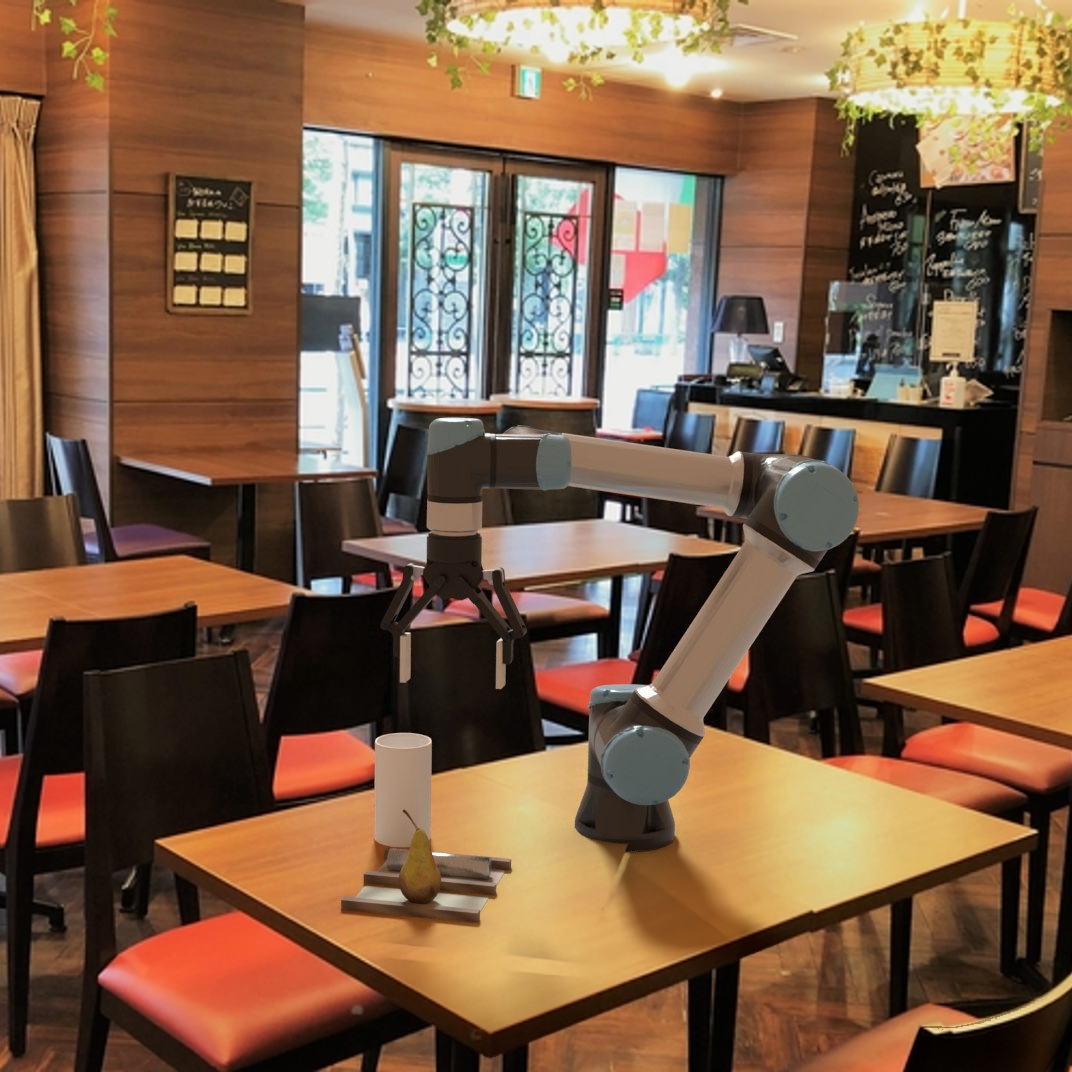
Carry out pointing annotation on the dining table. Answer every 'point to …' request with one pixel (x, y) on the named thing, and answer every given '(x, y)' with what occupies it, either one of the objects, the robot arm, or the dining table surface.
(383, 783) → the cup
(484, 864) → the rod
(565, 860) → the dining table surface
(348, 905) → the rack
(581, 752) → the dining table surface
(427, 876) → the fruit
